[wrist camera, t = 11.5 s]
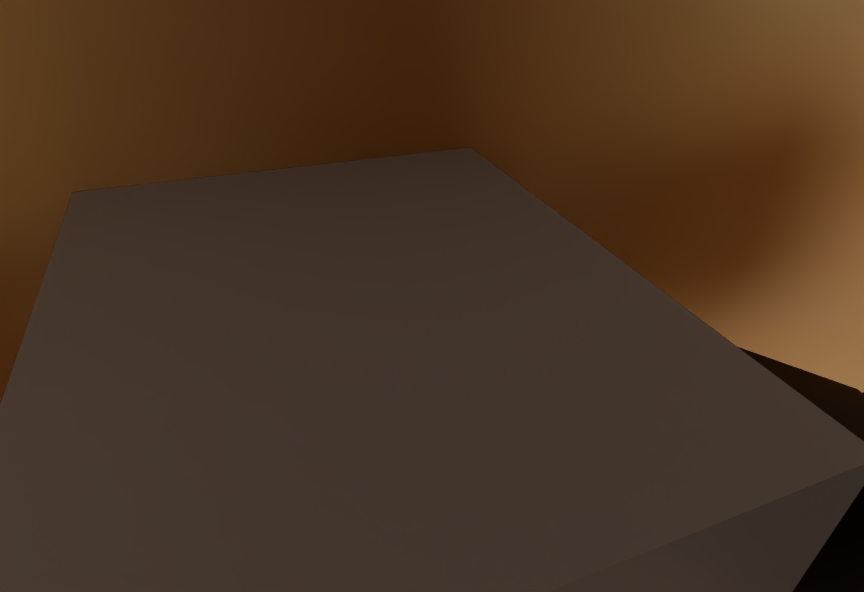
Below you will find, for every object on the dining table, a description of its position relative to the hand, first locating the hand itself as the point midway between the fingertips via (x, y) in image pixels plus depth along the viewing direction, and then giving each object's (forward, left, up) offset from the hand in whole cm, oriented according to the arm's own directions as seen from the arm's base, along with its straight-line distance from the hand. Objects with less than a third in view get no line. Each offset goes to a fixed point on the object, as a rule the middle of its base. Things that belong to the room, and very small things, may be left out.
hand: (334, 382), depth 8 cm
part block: (0, 0, -1) cm, 1 cm away
